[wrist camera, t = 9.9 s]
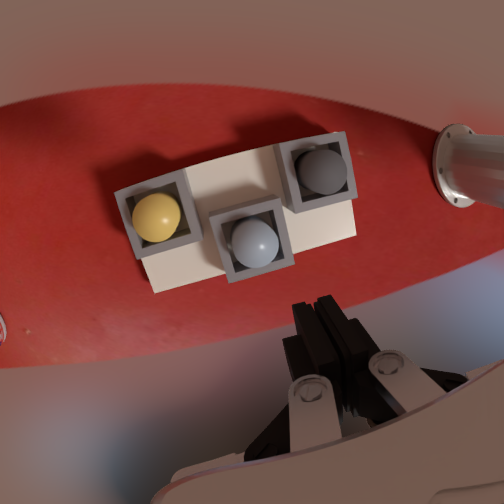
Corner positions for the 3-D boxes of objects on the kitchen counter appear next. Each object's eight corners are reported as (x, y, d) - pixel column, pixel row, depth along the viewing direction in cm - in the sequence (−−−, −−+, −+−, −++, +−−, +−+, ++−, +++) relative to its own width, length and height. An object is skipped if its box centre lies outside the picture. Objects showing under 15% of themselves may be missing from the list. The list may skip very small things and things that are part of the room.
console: (330, 133, 31) (349, 129, 26) (349, 230, 35) (368, 241, 30) (123, 188, 30) (108, 193, 25) (157, 285, 34) (150, 305, 29)
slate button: (265, 210, 30) (273, 218, 26) (274, 248, 32) (283, 260, 28) (225, 221, 30) (227, 230, 26) (236, 259, 31) (239, 273, 28)
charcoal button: (326, 147, 29) (342, 146, 25) (334, 185, 30) (350, 189, 27) (289, 154, 29) (300, 154, 25) (298, 194, 30) (310, 199, 26)
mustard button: (175, 185, 28) (170, 189, 24) (187, 224, 30) (184, 234, 26) (136, 198, 28) (126, 203, 24) (149, 236, 29) (141, 247, 26)
